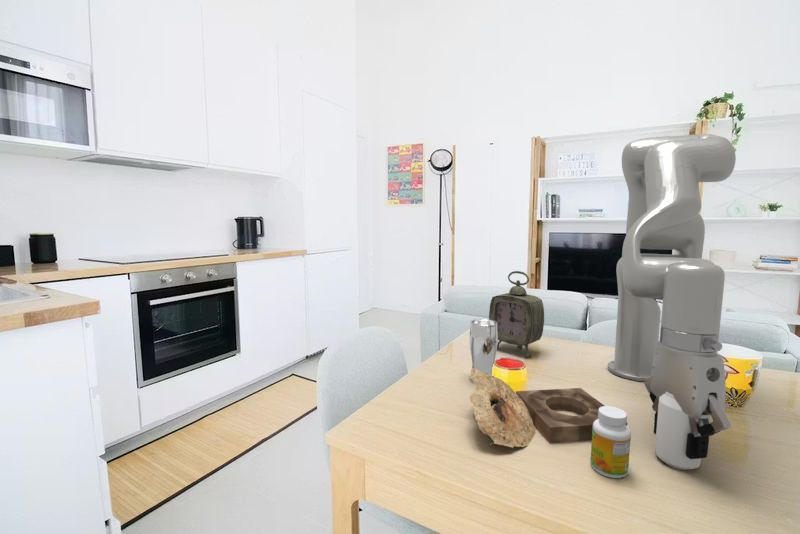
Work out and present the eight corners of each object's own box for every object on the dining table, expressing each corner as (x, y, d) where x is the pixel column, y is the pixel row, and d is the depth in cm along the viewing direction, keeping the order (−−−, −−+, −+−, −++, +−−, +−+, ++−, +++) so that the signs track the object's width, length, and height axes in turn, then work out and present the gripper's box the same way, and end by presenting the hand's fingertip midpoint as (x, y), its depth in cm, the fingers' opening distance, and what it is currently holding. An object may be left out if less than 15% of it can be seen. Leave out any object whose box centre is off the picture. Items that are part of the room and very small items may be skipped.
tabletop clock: (488, 348, 121) (490, 270, 118) (503, 342, 127) (506, 267, 124) (530, 360, 111) (534, 274, 108) (545, 353, 117) (549, 272, 114)
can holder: (579, 400, 86) (580, 387, 86) (626, 437, 71) (627, 422, 71) (515, 404, 84) (516, 391, 84) (549, 443, 69) (550, 427, 69)
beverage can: (672, 447, 68) (677, 382, 67) (709, 469, 62) (716, 398, 61) (645, 454, 66) (650, 387, 65) (681, 476, 60) (688, 404, 59)
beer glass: (494, 375, 100) (496, 319, 99) (498, 386, 93) (500, 326, 92) (467, 374, 101) (468, 318, 99) (469, 385, 94) (471, 325, 92)
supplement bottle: (583, 459, 65) (586, 404, 64) (613, 457, 65) (617, 403, 64) (603, 480, 59) (606, 421, 58) (635, 478, 60) (640, 419, 59)
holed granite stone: (537, 477, 70) (556, 450, 67) (463, 463, 68) (478, 435, 65) (511, 400, 86) (526, 375, 83) (450, 388, 84) (462, 362, 81)
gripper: (765, 357, 53) (751, 477, 55) (666, 324, 70) (659, 418, 73) (716, 359, 53) (704, 481, 55) (628, 326, 70) (622, 420, 72)
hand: (678, 444), depth 64 cm, fingers closed on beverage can, 5 cm apart
